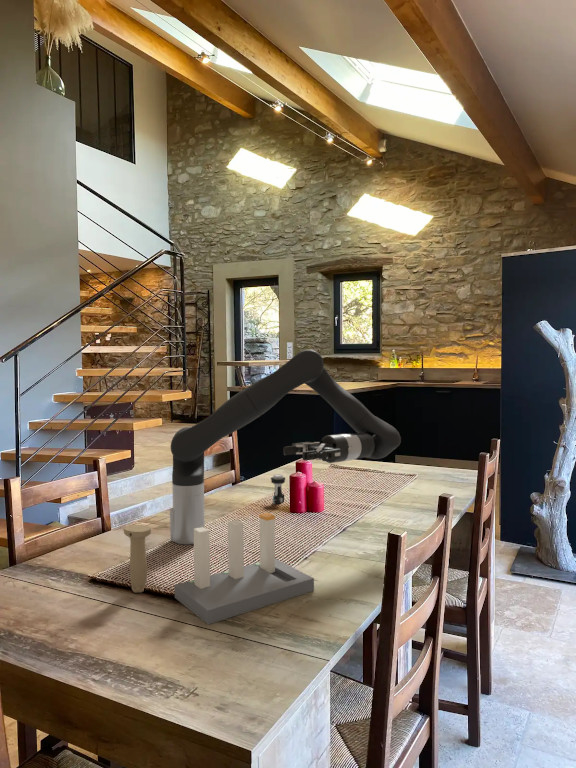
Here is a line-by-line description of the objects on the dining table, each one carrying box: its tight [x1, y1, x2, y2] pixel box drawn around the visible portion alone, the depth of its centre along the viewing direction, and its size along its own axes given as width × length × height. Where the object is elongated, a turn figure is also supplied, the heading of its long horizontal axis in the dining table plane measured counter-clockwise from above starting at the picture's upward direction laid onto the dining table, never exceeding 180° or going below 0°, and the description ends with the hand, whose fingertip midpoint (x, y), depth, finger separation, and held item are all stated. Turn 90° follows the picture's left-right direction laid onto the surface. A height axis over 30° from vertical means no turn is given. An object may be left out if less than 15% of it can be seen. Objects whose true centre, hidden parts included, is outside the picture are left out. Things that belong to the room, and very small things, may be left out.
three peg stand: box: [174, 519, 315, 625], centre depth 135 cm, size 28×16×16 cm, turn 126°
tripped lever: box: [259, 512, 276, 573], centre depth 144 cm, size 2×3×14 cm
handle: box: [123, 524, 152, 593], centre depth 137 cm, size 5×6×15 cm
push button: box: [270, 473, 286, 505], centre depth 213 cm, size 7×5×10 cm
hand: (293, 453), depth 152 cm, fingers open, 8 cm apart
